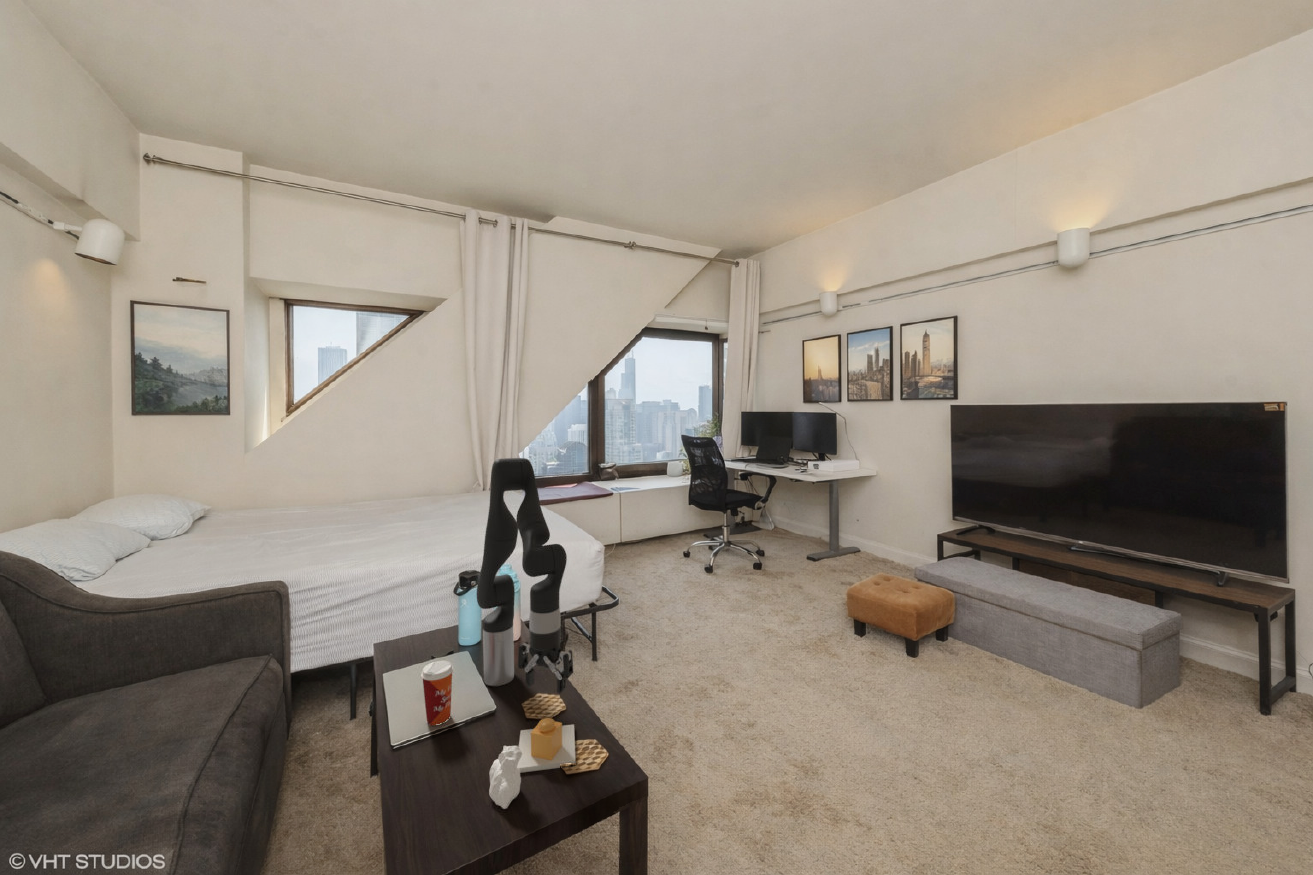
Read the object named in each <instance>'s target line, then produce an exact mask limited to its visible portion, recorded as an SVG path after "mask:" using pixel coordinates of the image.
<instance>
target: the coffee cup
mask: <svg viewBox="0 0 1313 875" xmlns="http://www.w3.org/2000/svg"><path fill="white" fill-rule="evenodd" d="M453 672H454V667H453V665H452V663H451V662H450V661H448V660H437V661H434V662H433V661H432V662H430V663H428V664H426V665H425V666H424V667H423V669H422V672H421V674H420V676H421V678H422V685H423V695H424V706H425V715H426V723H427V724H428V725H429V724H430V725H429V726H432V725H436V724H440V723H443V722H445V721H446V720H447V719H449V717H450V718H451V714H452V712H451V711H452V710H451V709H452V692H453V691H452V689H453V688H452V684H453ZM449 720H450V719H449ZM445 723H446V722H445Z"/></svg>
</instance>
